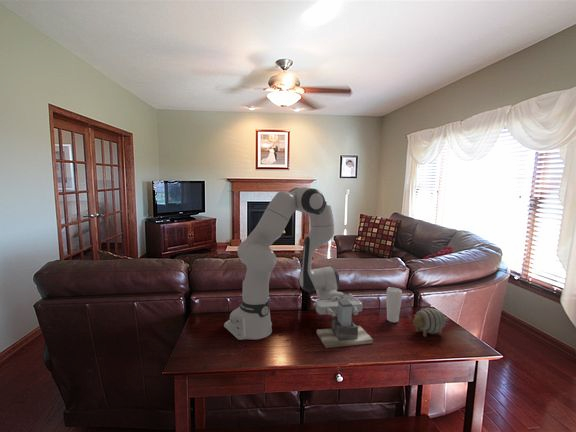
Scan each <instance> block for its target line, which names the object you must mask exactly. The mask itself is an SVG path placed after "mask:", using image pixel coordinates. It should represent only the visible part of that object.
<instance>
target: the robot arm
mask: <svg viewBox="0 0 576 432" xmlns="http://www.w3.org/2000/svg"><path fill="white" fill-rule="evenodd" d="M296 211H298V212H300V213H304V214H305V213H307V214H308V217H309V232H308V234H307V236H306V237H305V238H304V239H303V240H304V241H303V246H302V256H301V257H302V258H301V266H300V267H301V268H300V275H299V285H300V288H301V289H302V290H304V291H306V292H308V293H310V292H311V293H312V292H314V291H316V295H317V297H318V299H319V300H317V301H315V302H313V303H312V305H313V307H314V308H315V311H316V313H317V314H318V315H321V316H322V315H329V316H331V317H332V318H337V314H338V300H348V301H349V302H350V303H351V304H352V315H354V316H359V313H360V312H362V311H363V302H362V301H360V299H359V298H357V297H355V296H354V295H353V294H352V293H350V292H342V291H338V289H339V287H340V282H341V281H340V275H339V273H338V271H337V270H336V269H335V268H334V267H332V266H331V265H330V266H325V267H319V268H314V269H312V260H313V254H314V252H315V251H317V250H318V248H321V247H322V246H324V245H326V244H327V243H329V242H330V241H331V239H333V237H334V234H335V223H334V222H335V221H334V214H333V209H332V206H331V205H330V203H329V202H328V201H326V198H325V196H324V194H323V192H321V191H320V190H318V189H317V188H314V187H313V188H311V187H309V188H308V187H295V188H293V189H291V190H289V191H287V190H280V191H277V193H276V194H275V195H274V196H273V198H272V199H271V201H270V202H269V203H268V205H267V207H266V209H265V210H264V211H263V214H262V216H261V218H260V219H259V221H258V223H257V224H256V225H255V227H254V228H253V230H252V231H251V232H250V233H249V235H248V236H247V237H246V238H245V240H243V241H242V242H240V244H239V245H238V246H237V256H238V258H239V259H240V261H241V262H242V263H243V264H244V265H245V266H246V271H245V272H246V273H245V277H244V280H242V298H241V299H239V300H238V303H240V304H239V306H238V307H237V308H235V309H234V310H233V311H231V312H230V315H229V319H228V320H227V321H225V322H224V324H223V328H225V329H226V330H227V331H228V332H229V333H231V334H232V336H234V337H235V338H236V339H237V340H241V341H242V340H261V339H264V338H267V337H268V336H270V335H271V334H272V333H273V329H272V326H273V322H272V321H271V310H270V305H271V304H270V303H271V302H270V298H269V295H270V294H269V290H270V286H269V285H270V284H269V283H270V278H271V274H272V271H273V270H274V268H275V266H276V264H277V255H276V253H274V250H272V249H271V246H272V245H273V244H274V242H276V241H277V240H278V239H279V238H281V236H282V235H283V233H284V231H285V228H286V227H287V225H288V223H289V221H290V219H291V217H292V215H293V214H294V213H295V212H296Z"/></svg>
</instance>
